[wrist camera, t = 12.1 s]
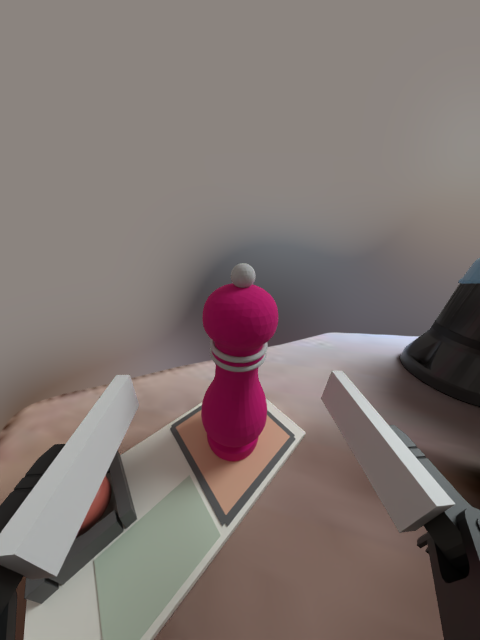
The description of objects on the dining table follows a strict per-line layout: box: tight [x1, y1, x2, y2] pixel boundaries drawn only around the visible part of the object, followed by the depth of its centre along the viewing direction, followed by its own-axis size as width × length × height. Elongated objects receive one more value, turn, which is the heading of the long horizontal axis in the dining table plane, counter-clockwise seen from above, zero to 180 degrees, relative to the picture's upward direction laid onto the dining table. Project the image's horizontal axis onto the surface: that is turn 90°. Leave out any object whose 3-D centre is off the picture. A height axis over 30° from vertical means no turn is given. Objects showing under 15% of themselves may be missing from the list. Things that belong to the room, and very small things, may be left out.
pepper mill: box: [201, 263, 278, 461], centre depth 17 cm, size 7×7×20 cm
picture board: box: [24, 399, 306, 640], centre depth 18 cm, size 12×24×3 cm, turn 132°
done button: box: [76, 475, 112, 538], centre depth 14 cm, size 4×4×2 cm
